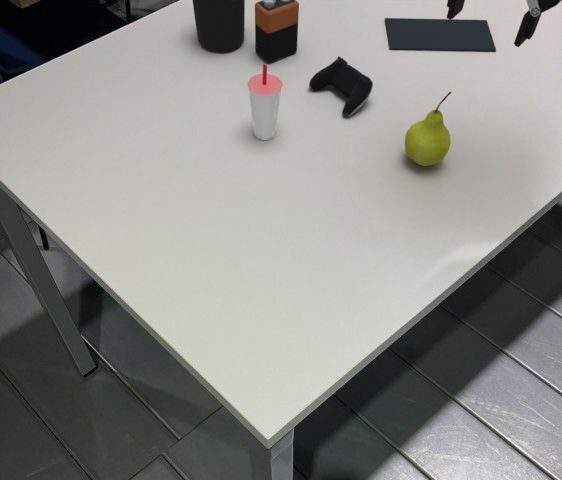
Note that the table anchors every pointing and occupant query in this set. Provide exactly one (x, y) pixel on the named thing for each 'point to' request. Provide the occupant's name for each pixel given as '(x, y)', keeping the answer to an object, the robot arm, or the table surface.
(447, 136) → the fruit
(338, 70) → the gaming controller
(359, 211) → the table surface
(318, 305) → the table surface
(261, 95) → the cup
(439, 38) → the mat
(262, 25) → the battery
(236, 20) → the pen holder
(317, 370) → the table surface
